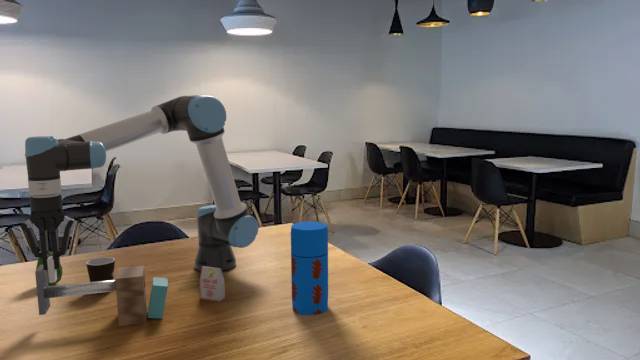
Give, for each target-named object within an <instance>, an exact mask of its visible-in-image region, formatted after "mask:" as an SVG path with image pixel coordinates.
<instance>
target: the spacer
mask: <svg viewBox="0 0 640 360" xmlns="http://www.w3.org/2000/svg"><path fill="white" fill-rule="evenodd" d="M152 279H153V280H152V284H151V289H150V298H149V302H148V306H147V310H148V312H147V318H148V319H160V320H161V319H163V318H164V309H165V305H166V299H167V293H168V287H169V285H168V282H169V281H168V280H169V279H168V278H166V277H157V276H156V277H155V276H154V277H153V278H152Z"/></svg>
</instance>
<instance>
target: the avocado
mask: <svg viewBox="0 0 640 360" xmlns="http://www.w3.org/2000/svg"><path fill="white" fill-rule="evenodd" d="M51 256H53V252H52V251H51V250H50V251H49V257H51ZM37 258H38V259H37V262H36V266H35V271H36V270H37V269H38V267H39V266H40V265H43V259H42V258H39V257H37ZM56 271H57V280H56V282H54V283H49V276H48V270H47V276H48V286H56V284H58V283H59V282H60V281H61V280H62V276H63V266H62V265H61V263H60V268H59V269H56Z"/></svg>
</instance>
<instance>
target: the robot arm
mask: <svg viewBox="0 0 640 360" xmlns="http://www.w3.org/2000/svg"><path fill="white" fill-rule="evenodd" d="M226 121H227V111H226V108H225V106H224V104H223V103H222V102H221V101H220V100H219V99H218V98H216V97H215V96H212V95H207V94H198V95H197V94H196V95H194V94H193V95H181V96H178V97H176V98H172V99H170V100H168V101H165V102H163V103H160V104H158V105H154V106H152V108H151V109H150V110H149V111H146V112H143V113H140V114H137V115H134V116H131V117H128V118H124V119H121V120H118V121H116V122H112V123H110V124H107V125H103V126H101V127H97V128H95V129H91V130H89V131H85V132H83V133H79V134H77V135H73V136H71V137H67V138H57V136H52V135H45V136H44V135H40V136H38V135H37V136H29V137H27V138H26V139H25V141H24V149H25V150H24V151H25V153H24V157H25V162H26V171H27V172H26V173H27V185H28V195H30V197H29V206H30V207H29V208H30V215H29V217H28V219H27V220H26V221H22V222H21V224H20V225H19V226H20V228H21V229H22V230H23V231H24V232H25V236H26V238H27V240H28V243H29V246H30V249H31V251H32V253H33V256H34V257H35V258H42V259H43V268H44V270H48V276H49V283H54V282H56V280H57V271H56V269H59V268H60V264H61V259H60V258H61V257H62V256H65V254H66V253H67V251H68V246H69V240H70V235H71V230H72V226H73V225H74V223H75V221H76V220H75V218H71V217H69V216H67V215H66V213H65V211H64V207H63V206H64V205H63V196H62V195H61V193H62V182H61V172H66V171H78V170H90V169H91V170H93V169H98V168H102V167H104V166H105V164H106V162H107V152H109V151H112V150H115V149H118V148H120V147H123V146H126V145H128V144H129V145H130V144H131V143H134V142H136V141H139V140H143V139H146V138H149V137H151V136H153V135H157V134H162V135H164V134H165V135H166V134H168V133H172V132H178V131H180V132H183V131H186V134H187V136H188V139H189V142H190V143H192V144H194V145H196V148H197V152H198V154H199V158H200V160H201V164H202V168H203V171H204V174H205V176H206V180H207V183H208V187H209V190H210V192H211V196H212V199H213V203H214V204H212V205H211V204H210V205H206V206H202V207H199V208H198V209H197V215H196V216H197V217H196V219H197V220H196V221H197V238H198V248H197V250H196V251H197V252H196V255H195V259H194V269H196V270H197V271H200V272H201V267H202V266H205V267H214V268H221V271H222V272H224V271H228V270H231V269H233V268H234V267H236V265H237V262H236V261H237V260H236V256H235V254H234V251H233V248H237V249H243V248H247V247H248V246H250V245H252V244H253V242H254V241H255V240H256V236H257V235H258V233H259V223H258V221H257V219H256V218H255V217H254V216H253V215H250V213H249V210H248V207H247V204H246V203H244V202H242V201H241V199H240V195H239V192H238V189H237V185H236V182H235V178H234V175H233V172H232V168H231V165H230V161H229V159H228V154H227V151H226V147H225V145H224V140H223V135H224V134H225V128H224V126H225V125H226ZM62 222H64V223H63V224H64V231H63V236H62V242H61V248H60V244H59V243H60V241H59V232H58V231H59V227H60V226H61V224H62ZM33 225H34V226H35V227H36V228H37V229H38V232H39V233H38V234H39V237H40V238H39V239H40V244H39V242H38V239H37V238H36V234H35V232H34V229H33ZM48 231H49V232H50V238H51V250H52V251H51V252H52V253H53V256H51V257H49V250H50V249H49V248H50V247H49V240H48V239H49V238H48ZM232 247H233V248H232Z"/></svg>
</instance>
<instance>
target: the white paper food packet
mask: <svg viewBox="0 0 640 360" xmlns="http://www.w3.org/2000/svg"><path fill="white" fill-rule="evenodd" d="M198 282H199V285H198V286H199V299H200V300H207V301H214V302H220V301H222V300H224V299H225V298H226V287H225V284H226V283H225V277H224V274H223V271H221V268H214V267H205V266H202V267H201V271H200V275H199V280H198Z"/></svg>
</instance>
